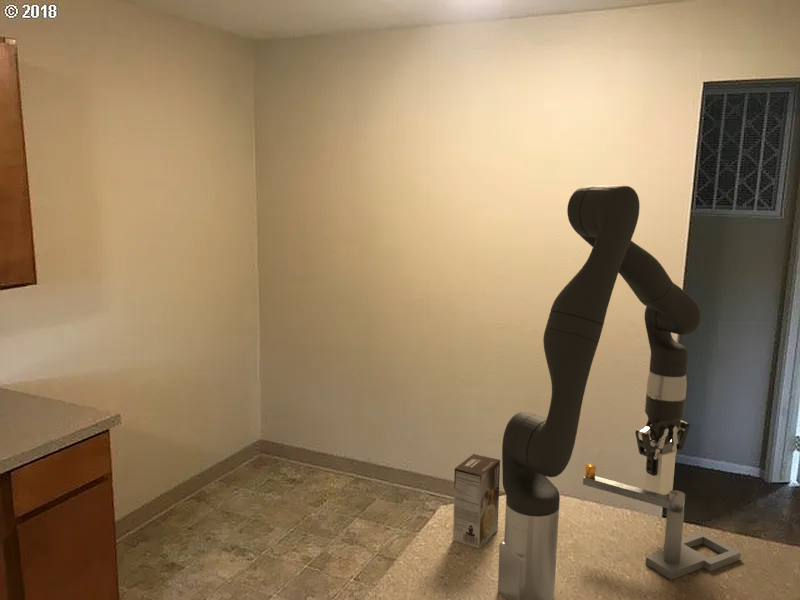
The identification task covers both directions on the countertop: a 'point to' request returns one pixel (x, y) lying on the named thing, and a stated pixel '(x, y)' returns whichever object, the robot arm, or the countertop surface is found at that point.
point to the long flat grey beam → (634, 491)
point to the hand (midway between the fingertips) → (659, 471)
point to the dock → (688, 551)
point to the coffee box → (476, 500)
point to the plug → (662, 471)
